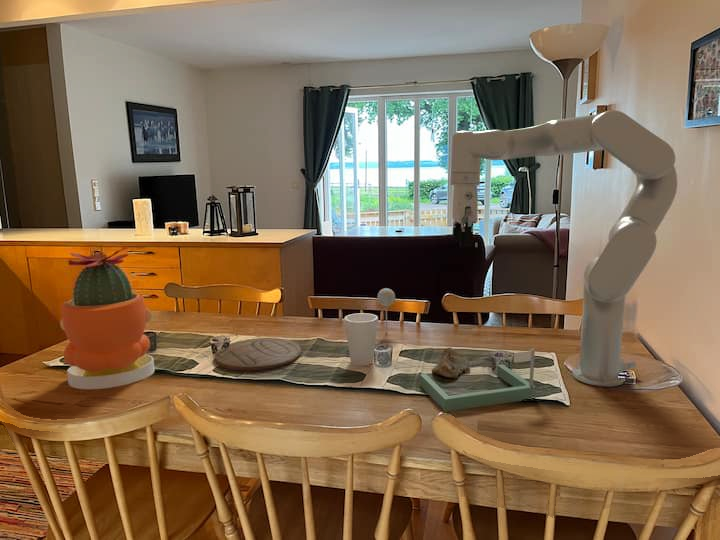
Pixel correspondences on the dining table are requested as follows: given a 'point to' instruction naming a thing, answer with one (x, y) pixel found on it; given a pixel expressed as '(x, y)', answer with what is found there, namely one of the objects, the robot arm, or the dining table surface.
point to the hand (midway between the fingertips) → (461, 244)
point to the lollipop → (386, 299)
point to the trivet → (258, 354)
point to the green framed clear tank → (490, 397)
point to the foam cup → (361, 337)
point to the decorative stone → (451, 364)
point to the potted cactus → (105, 327)
